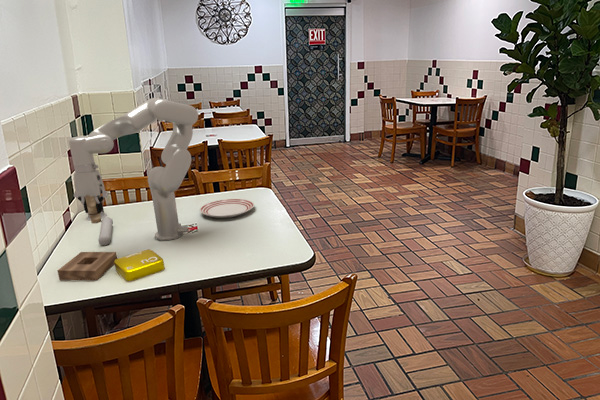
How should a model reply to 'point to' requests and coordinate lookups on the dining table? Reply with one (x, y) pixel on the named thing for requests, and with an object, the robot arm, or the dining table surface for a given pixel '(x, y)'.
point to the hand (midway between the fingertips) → (94, 211)
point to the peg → (92, 209)
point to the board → (87, 266)
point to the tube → (105, 231)
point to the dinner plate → (226, 208)
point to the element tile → (139, 265)
